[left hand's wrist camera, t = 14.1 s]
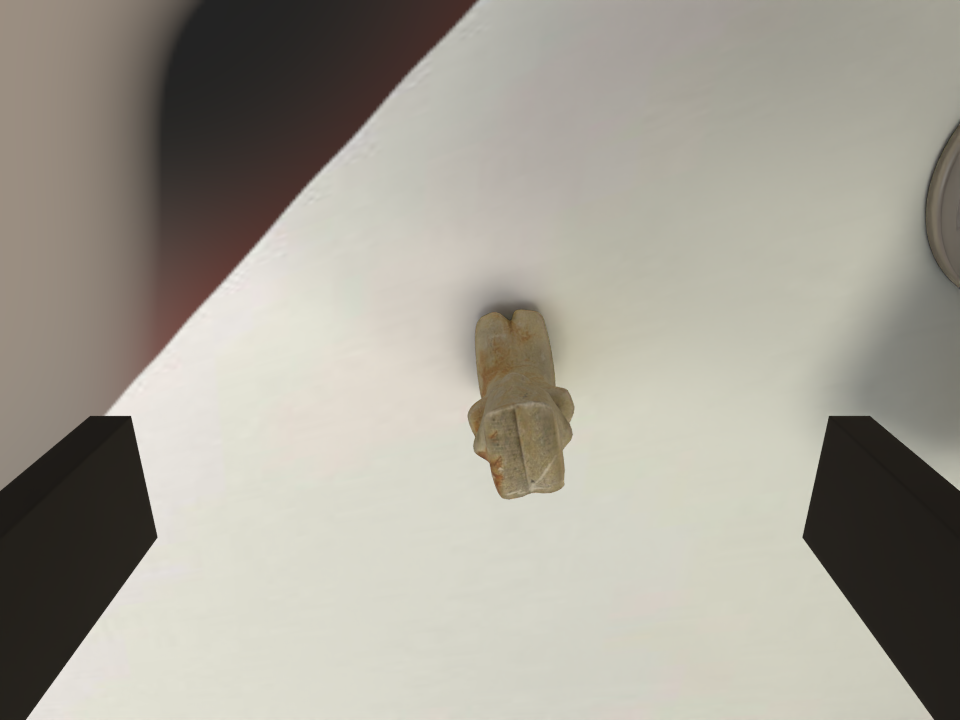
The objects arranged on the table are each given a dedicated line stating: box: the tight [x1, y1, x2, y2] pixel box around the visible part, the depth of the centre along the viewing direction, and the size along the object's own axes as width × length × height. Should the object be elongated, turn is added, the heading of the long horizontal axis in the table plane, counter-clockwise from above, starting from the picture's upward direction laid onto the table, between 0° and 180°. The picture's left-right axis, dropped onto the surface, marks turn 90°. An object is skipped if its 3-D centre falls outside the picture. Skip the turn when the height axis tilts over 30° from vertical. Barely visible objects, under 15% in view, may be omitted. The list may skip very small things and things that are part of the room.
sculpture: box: [468, 309, 574, 499], centre depth 38 cm, size 6×7×15 cm
